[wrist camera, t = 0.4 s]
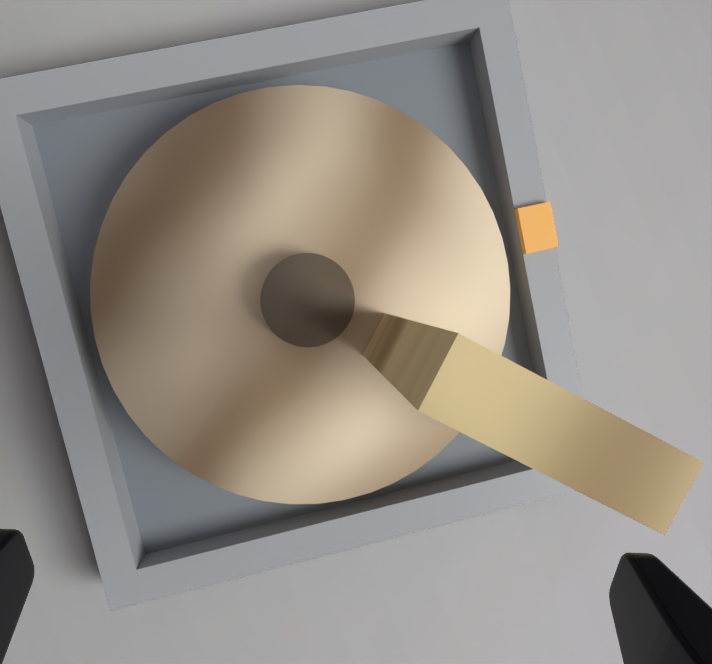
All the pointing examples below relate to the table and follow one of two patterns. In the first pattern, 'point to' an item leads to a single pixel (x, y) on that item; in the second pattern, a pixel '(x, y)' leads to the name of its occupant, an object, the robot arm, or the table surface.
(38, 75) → the bezel plate
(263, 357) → the beige disc with bar
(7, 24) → the table surface
